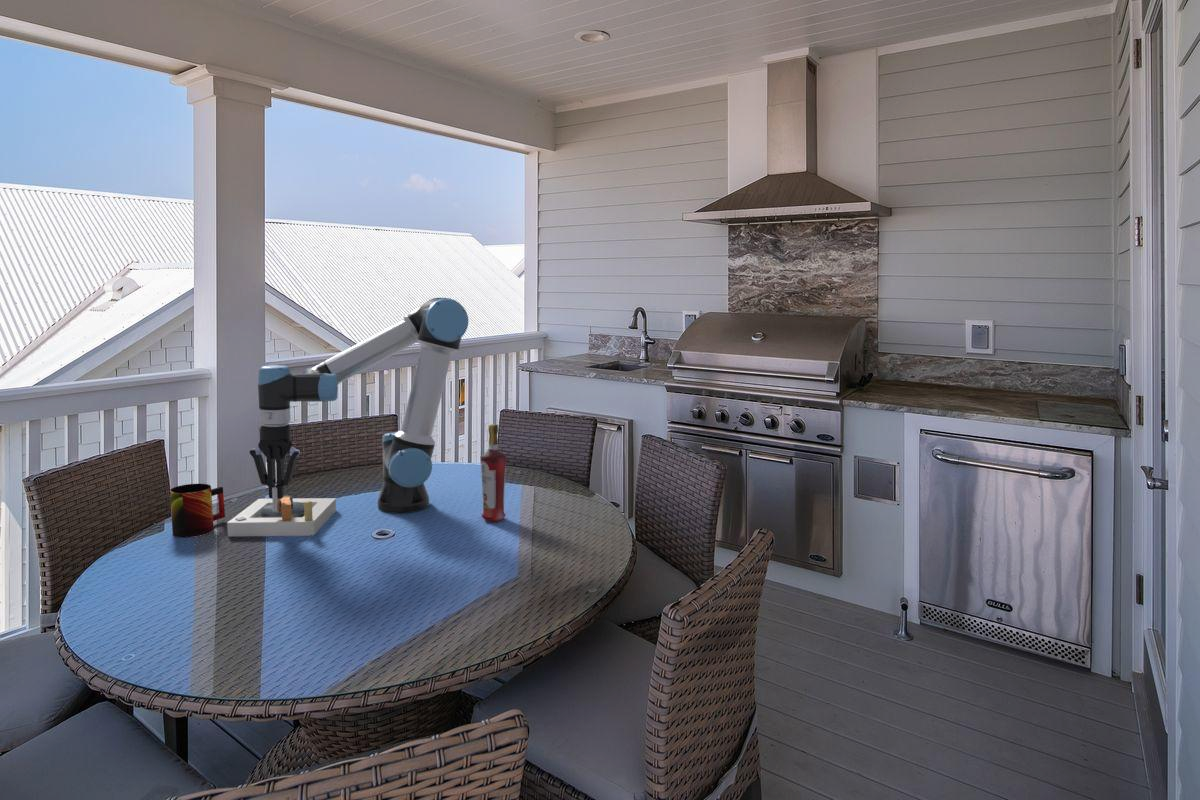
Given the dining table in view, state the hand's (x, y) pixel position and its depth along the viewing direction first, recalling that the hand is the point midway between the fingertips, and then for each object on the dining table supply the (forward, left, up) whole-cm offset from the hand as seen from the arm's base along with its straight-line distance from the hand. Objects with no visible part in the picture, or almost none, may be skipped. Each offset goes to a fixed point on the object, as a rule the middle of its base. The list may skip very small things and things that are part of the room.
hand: (276, 509), depth 193 cm
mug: (+22, -3, -6) cm, 23 cm away
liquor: (-57, -8, -6) cm, 58 cm away
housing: (+1, -7, -6) cm, 10 cm away
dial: (0, -5, -4) cm, 6 cm away
